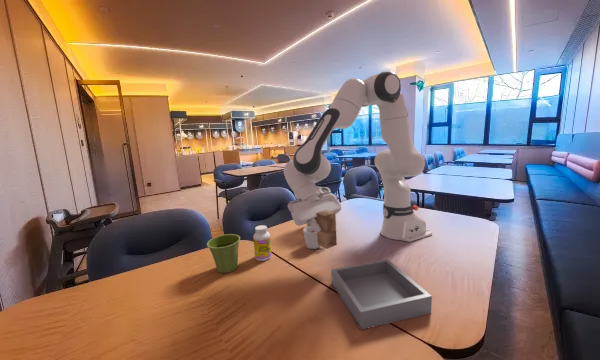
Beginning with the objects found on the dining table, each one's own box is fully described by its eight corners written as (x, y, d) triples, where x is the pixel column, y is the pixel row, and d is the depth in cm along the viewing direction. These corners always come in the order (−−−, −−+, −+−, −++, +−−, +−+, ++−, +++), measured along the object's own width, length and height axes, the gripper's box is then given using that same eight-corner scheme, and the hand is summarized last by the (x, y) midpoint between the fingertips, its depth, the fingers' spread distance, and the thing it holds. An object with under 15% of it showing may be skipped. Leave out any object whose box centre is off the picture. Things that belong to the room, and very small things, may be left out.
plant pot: (223, 258, 99) (220, 232, 97) (249, 262, 95) (246, 235, 93) (203, 274, 88) (199, 245, 86) (231, 279, 84) (227, 249, 82)
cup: (328, 242, 108) (328, 225, 107) (329, 250, 101) (328, 232, 99) (304, 242, 109) (303, 225, 108) (303, 251, 102) (302, 233, 100)
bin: (387, 272, 83) (387, 259, 82) (431, 313, 63) (431, 295, 63) (331, 283, 78) (331, 269, 78) (360, 330, 59) (360, 312, 58)
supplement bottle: (258, 263, 94) (255, 232, 91) (253, 256, 100) (250, 226, 97) (274, 258, 97) (271, 228, 94) (268, 252, 103) (266, 223, 100)
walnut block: (327, 240, 90) (326, 209, 88) (336, 244, 86) (335, 212, 84) (317, 244, 88) (315, 212, 85) (326, 249, 84) (325, 215, 81)
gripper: (288, 197, 83) (307, 232, 77) (332, 187, 95) (351, 216, 89) (282, 207, 88) (300, 241, 82) (325, 196, 99) (343, 225, 93)
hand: (327, 228), depth 85 cm, fingers closed on walnut block, 5 cm apart
